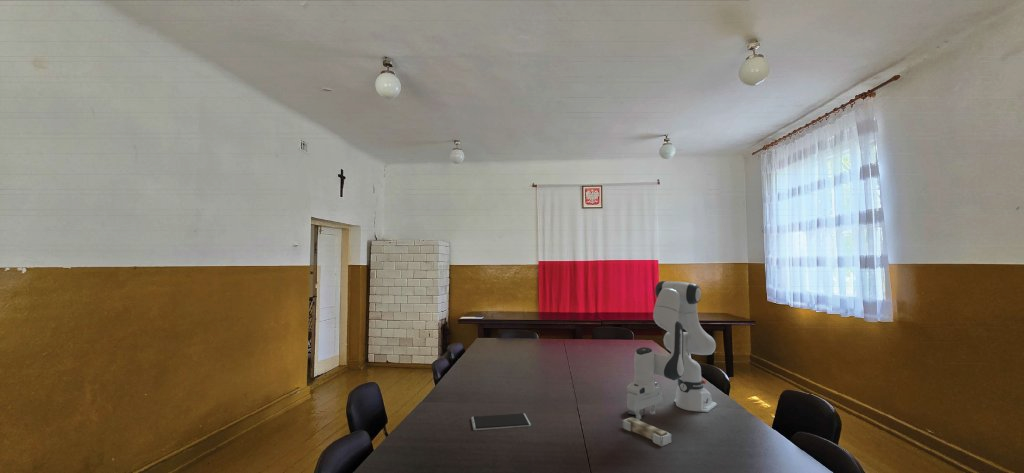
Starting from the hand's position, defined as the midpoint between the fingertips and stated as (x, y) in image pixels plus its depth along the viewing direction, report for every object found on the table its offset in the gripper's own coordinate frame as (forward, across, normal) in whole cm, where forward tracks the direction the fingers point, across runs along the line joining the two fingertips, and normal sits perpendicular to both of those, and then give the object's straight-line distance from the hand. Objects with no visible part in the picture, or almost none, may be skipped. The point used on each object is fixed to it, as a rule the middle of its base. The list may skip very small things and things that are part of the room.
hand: (645, 416), depth 172 cm
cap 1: (+8, +1, -8) cm, 12 cm away
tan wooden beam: (+8, +1, 0) cm, 8 cm away
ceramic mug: (+9, -15, -18) cm, 25 cm away
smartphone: (+8, +49, -45) cm, 67 cm away
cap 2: (+8, +1, +10) cm, 12 cm away
